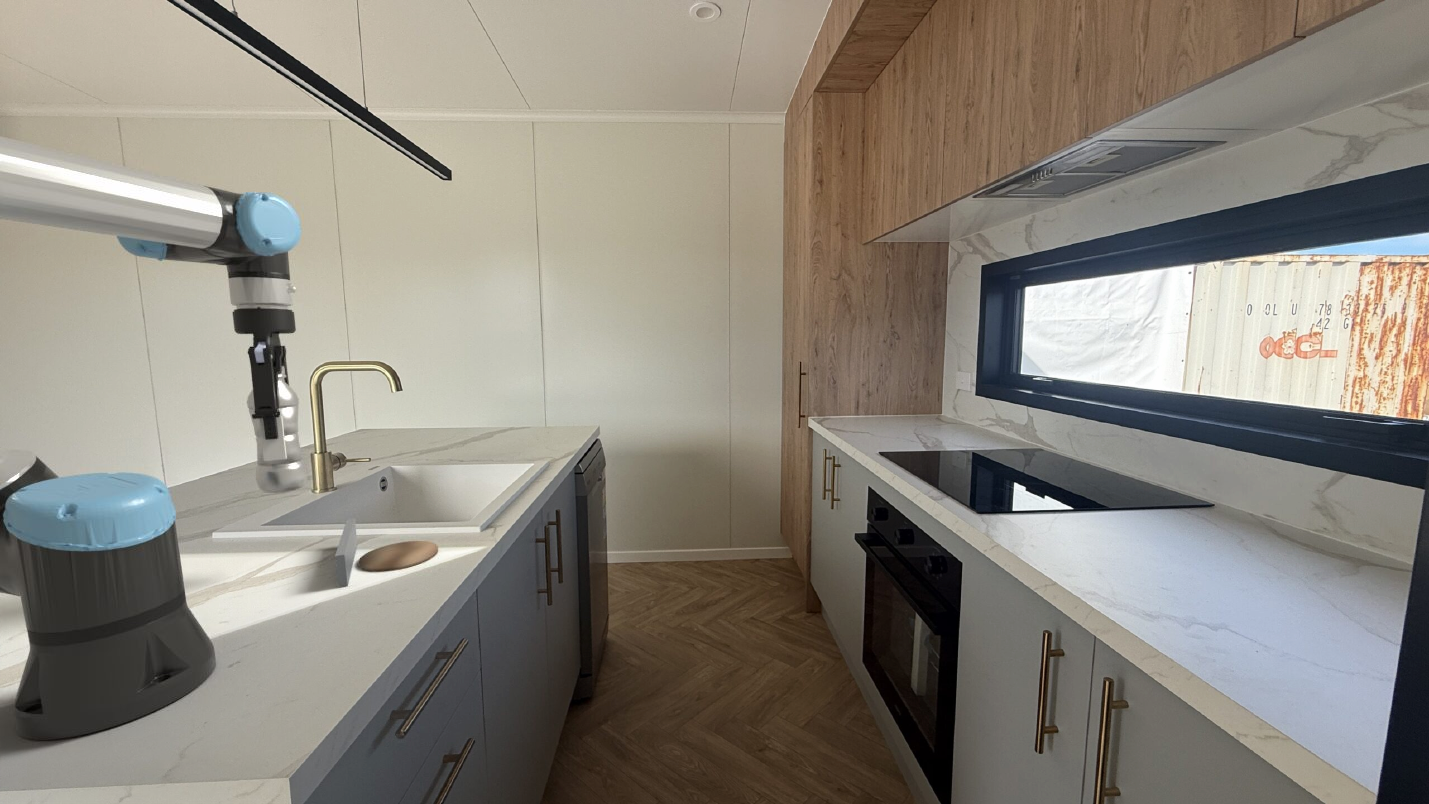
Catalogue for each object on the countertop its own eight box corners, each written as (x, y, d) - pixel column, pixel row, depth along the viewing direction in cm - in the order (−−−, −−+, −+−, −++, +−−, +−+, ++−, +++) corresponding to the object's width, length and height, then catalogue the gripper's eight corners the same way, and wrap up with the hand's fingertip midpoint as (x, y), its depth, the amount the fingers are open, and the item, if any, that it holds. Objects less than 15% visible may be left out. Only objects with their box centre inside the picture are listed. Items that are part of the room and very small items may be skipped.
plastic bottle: (289, 497, 89) (275, 367, 86) (246, 498, 89) (230, 368, 86) (318, 486, 95) (306, 365, 93) (278, 486, 95) (265, 365, 93)
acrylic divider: (338, 587, 88) (334, 556, 87) (349, 545, 105) (347, 519, 104) (347, 585, 88) (344, 554, 87) (357, 544, 106) (354, 518, 105)
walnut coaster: (356, 577, 91) (355, 573, 91) (361, 552, 102) (361, 549, 102) (439, 561, 97) (439, 558, 97) (436, 539, 107) (436, 536, 107)
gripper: (281, 304, 82) (298, 464, 85) (302, 310, 99) (316, 443, 101) (213, 304, 79) (233, 470, 81) (247, 310, 95) (263, 448, 98)
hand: (279, 455), depth 91 cm, fingers closed on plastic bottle, 6 cm apart
